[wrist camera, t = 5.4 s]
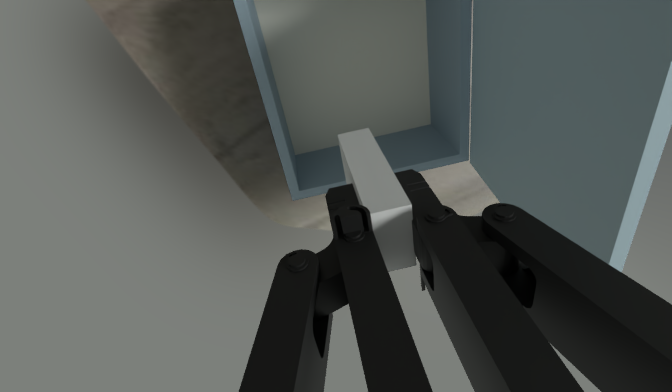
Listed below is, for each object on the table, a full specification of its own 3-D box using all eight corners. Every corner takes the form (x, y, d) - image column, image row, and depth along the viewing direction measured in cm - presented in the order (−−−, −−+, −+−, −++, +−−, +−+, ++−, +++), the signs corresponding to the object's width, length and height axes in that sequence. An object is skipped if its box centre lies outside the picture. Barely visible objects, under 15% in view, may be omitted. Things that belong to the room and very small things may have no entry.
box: (233, -38, 30) (222, -37, 23) (428, -80, 30) (473, -92, 23) (289, 160, 39) (292, 200, 33) (435, 126, 40) (468, 160, 33)
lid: (742, -170, 9) (773, -177, 9) (475, -94, 23) (487, -97, 23) (591, 322, 19) (605, 320, 19) (470, 162, 33) (478, 161, 33)
